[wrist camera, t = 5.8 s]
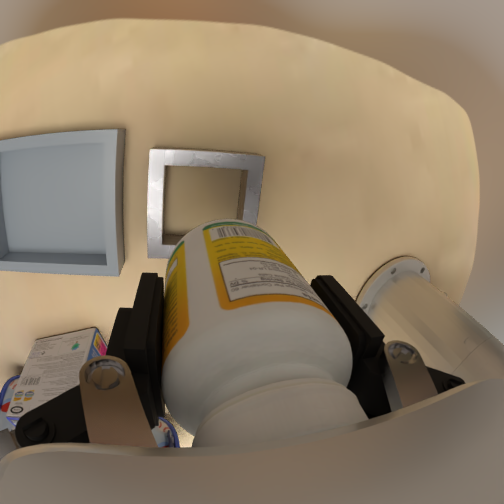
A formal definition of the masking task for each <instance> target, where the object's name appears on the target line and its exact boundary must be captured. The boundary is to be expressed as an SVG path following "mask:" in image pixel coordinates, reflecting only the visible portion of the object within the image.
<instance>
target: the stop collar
mask: <svg viewBox="0 0 504 504" xmlns="http://www.w3.org/2000/svg"><path fill="white" fill-rule="evenodd" d="M264 162H265V156H262V155H259V154H253V153H243V152H232V151H220V150H206V149H188V148H161V147H153V148H151V149H150V156H149V174H148V205H147V245H148V258H166V259H169V258H170V256H171V253H172V251H173V249H174V248H175V246H176V245H177V243H178V242H179V241H180V240H181V239H182V238H183V237H184V236H185V235H167V234H164V201H165V180H166V165H176V166H198V167H215V168H229V169H242V175H241V184H240V193H239V201H238V211H237V220H242V221H246V222H249V223H251V224H254V225H256V223H257V216H258V208H259V201H260V193H261V185H262V178H263V170H264Z"/></svg>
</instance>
